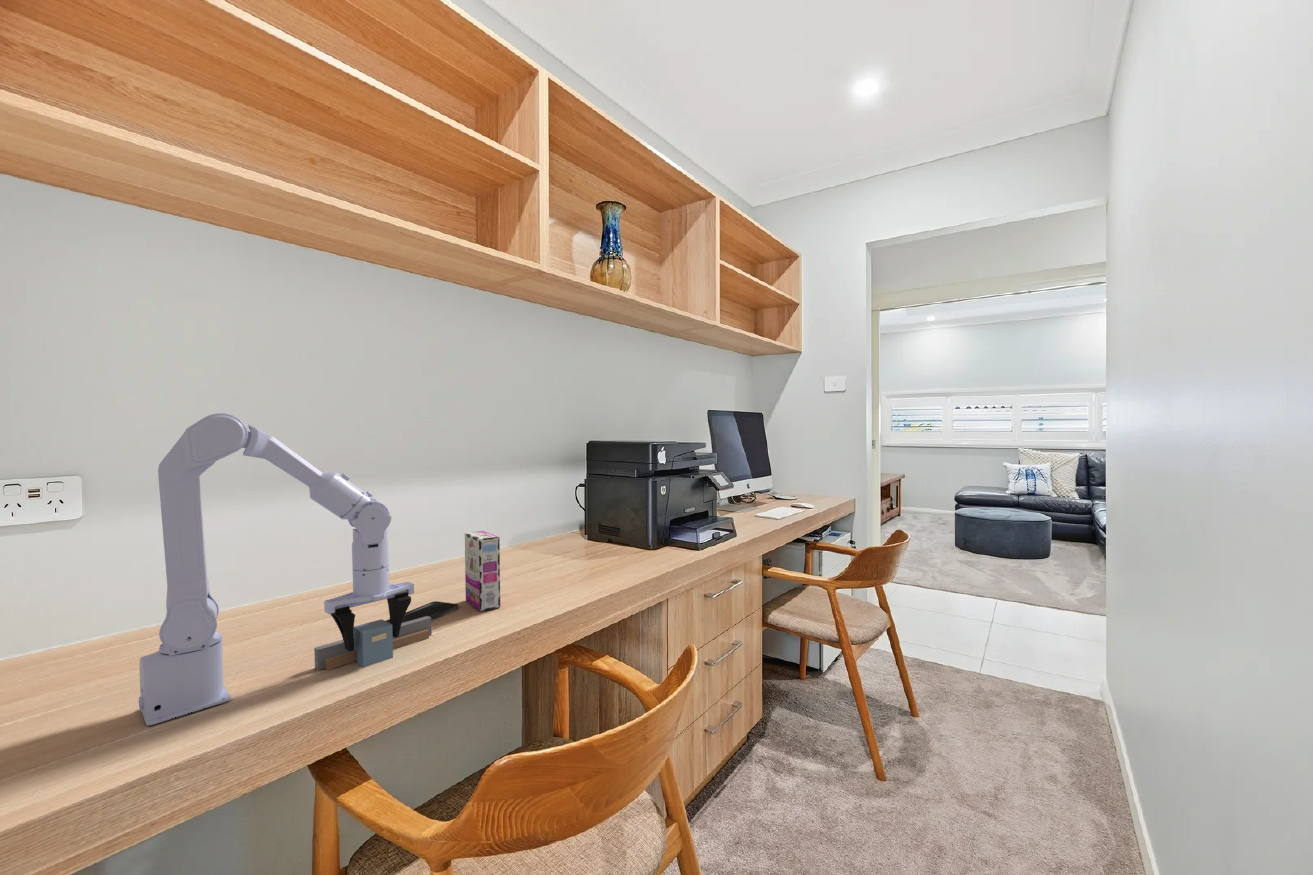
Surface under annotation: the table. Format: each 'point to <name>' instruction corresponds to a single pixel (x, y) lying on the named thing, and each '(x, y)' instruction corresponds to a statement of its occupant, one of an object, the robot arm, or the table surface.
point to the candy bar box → (482, 570)
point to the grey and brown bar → (338, 655)
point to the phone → (429, 611)
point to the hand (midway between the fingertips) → (372, 642)
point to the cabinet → (373, 642)
